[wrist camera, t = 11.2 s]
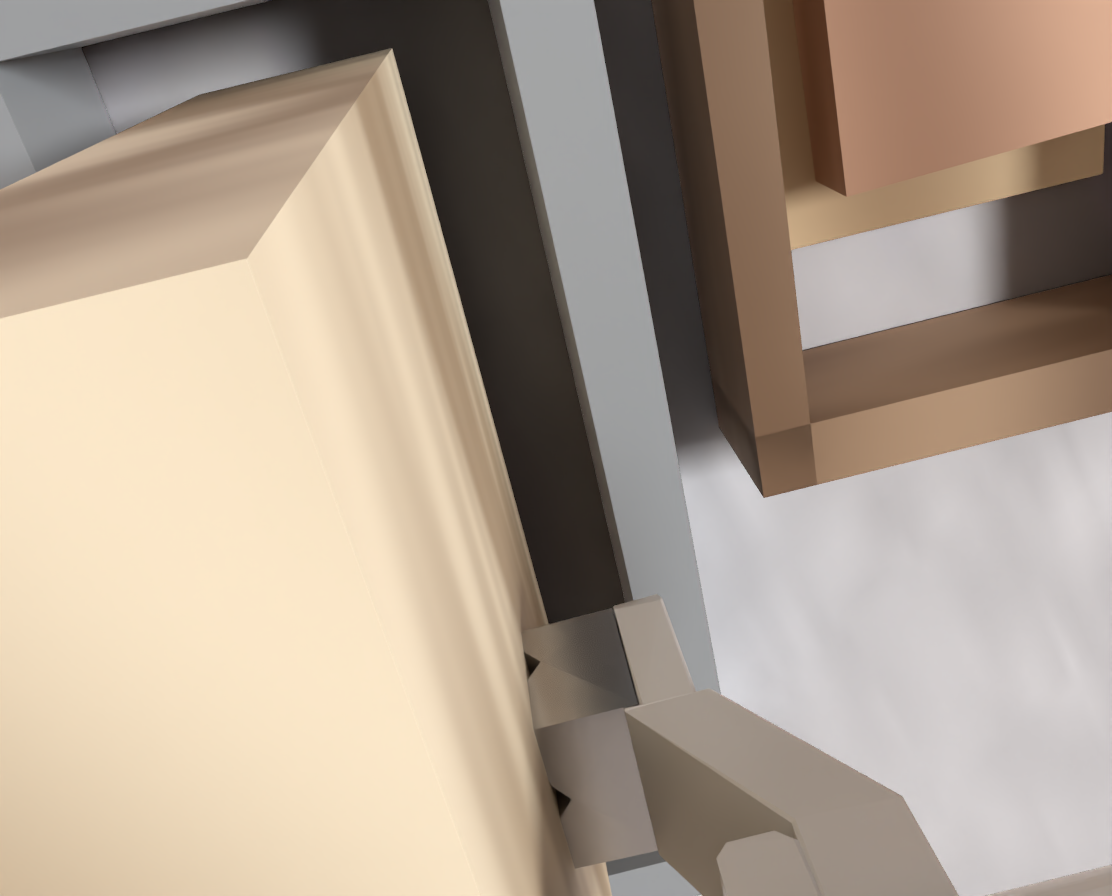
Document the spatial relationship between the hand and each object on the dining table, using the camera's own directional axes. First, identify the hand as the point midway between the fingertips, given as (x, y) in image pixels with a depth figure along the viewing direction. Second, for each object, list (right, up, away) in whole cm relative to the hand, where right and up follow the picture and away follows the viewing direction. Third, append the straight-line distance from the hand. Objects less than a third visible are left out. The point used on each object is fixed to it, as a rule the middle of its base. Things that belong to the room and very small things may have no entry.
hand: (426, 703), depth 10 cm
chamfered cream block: (-1, +2, +4) cm, 5 cm away
